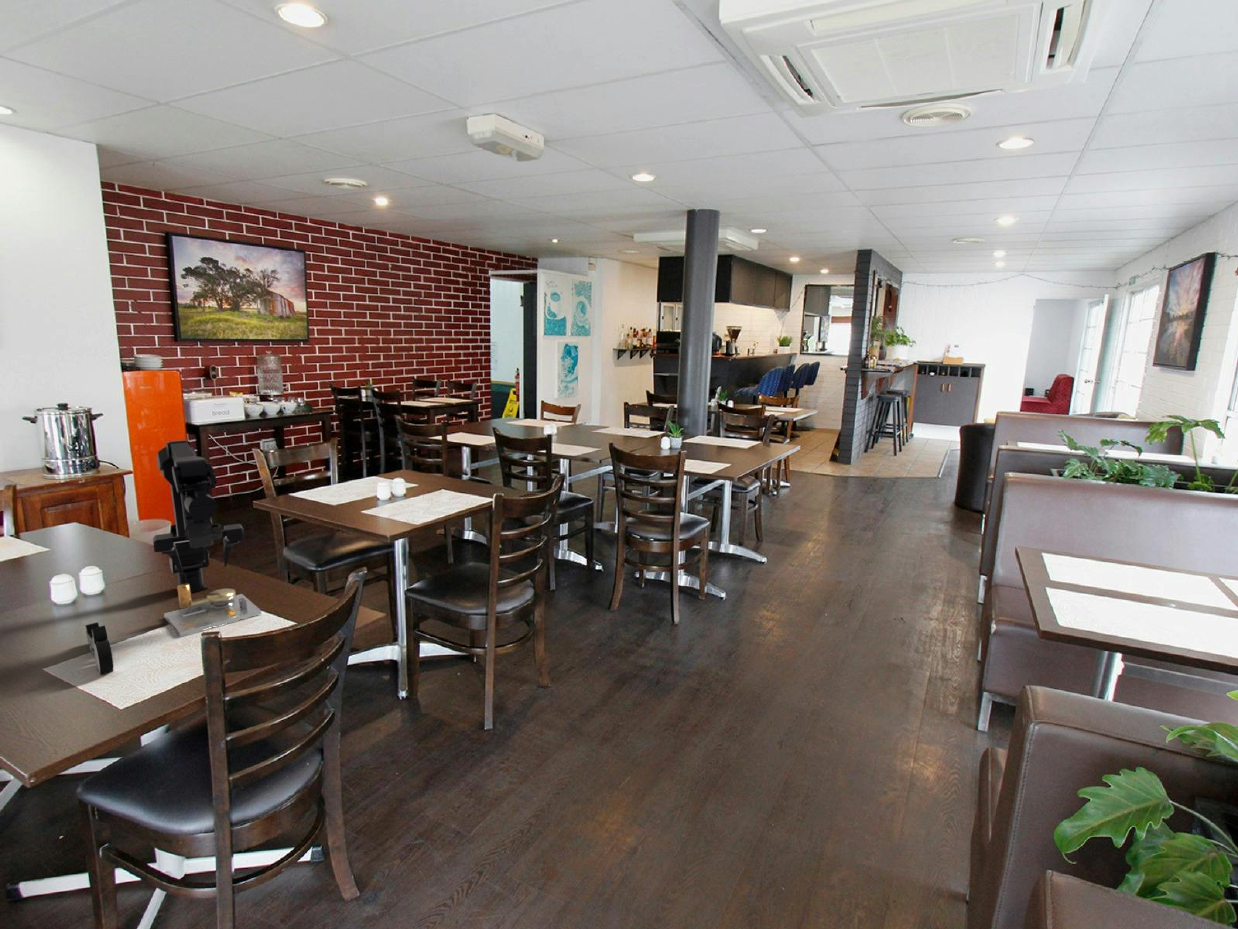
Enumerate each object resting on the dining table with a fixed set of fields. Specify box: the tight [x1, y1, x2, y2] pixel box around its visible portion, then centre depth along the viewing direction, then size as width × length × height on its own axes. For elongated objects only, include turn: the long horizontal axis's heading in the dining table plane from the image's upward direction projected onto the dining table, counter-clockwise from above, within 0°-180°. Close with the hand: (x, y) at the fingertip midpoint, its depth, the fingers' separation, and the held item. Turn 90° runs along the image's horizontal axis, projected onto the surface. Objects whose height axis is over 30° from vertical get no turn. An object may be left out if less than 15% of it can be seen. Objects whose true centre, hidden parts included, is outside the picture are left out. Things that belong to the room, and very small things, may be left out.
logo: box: [85, 621, 114, 675], centre depth 143 cm, size 21×2×10 cm, turn 45°
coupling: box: [176, 583, 237, 609], centre depth 166 cm, size 12×6×6 cm, turn 137°
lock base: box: [163, 593, 262, 638], centre depth 165 cm, size 15×18×4 cm
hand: (203, 570), depth 161 cm, fingers open, 9 cm apart
